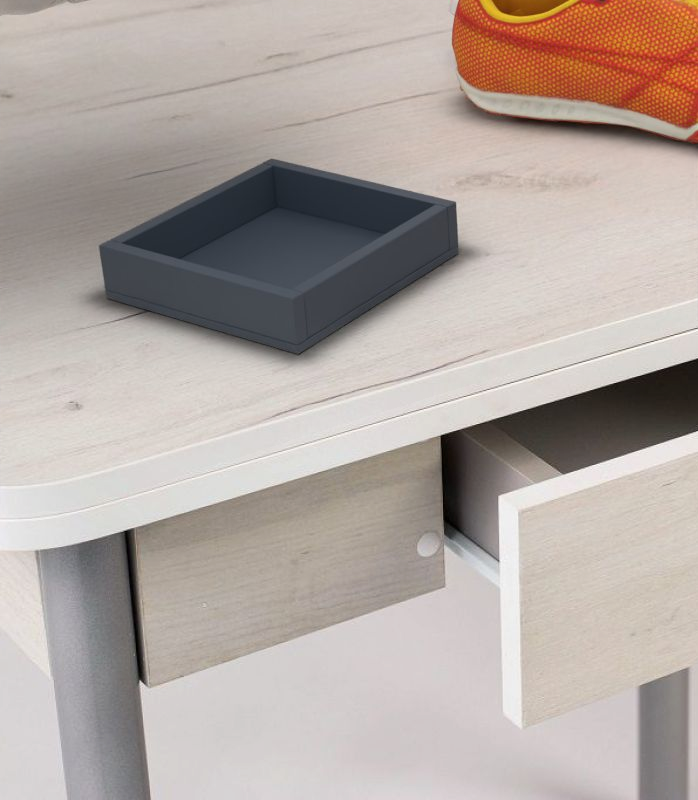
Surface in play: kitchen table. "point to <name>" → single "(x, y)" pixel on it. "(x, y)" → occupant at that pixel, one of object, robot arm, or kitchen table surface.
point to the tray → (280, 253)
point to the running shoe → (583, 61)
